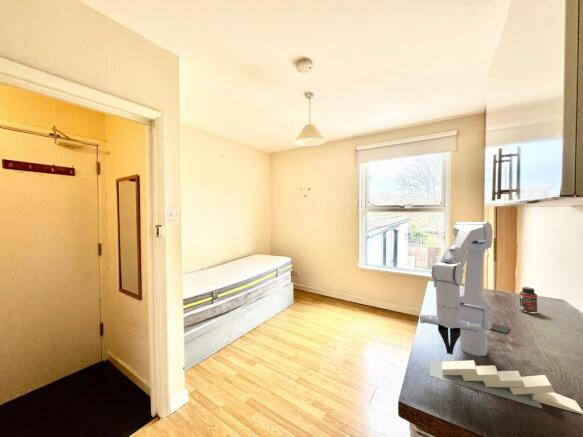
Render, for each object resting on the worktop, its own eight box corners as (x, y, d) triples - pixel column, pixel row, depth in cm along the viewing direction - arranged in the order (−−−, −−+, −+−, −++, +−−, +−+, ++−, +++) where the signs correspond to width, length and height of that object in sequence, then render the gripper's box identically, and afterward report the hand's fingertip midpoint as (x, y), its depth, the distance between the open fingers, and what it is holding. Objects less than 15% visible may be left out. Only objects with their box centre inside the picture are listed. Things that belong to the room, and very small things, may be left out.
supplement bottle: (521, 312, 111) (520, 288, 111) (518, 308, 116) (517, 285, 116) (539, 315, 107) (538, 290, 108) (535, 311, 112) (534, 287, 113)
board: (431, 363, 74) (431, 359, 74) (531, 390, 61) (531, 385, 61) (429, 379, 66) (429, 375, 66) (543, 413, 54) (542, 408, 54)
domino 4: (528, 382, 60) (575, 400, 56) (527, 388, 60) (573, 406, 56) (534, 393, 56) (584, 413, 52) (532, 399, 56) (582, 419, 52)
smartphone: (507, 333, 91) (461, 321, 102) (507, 336, 91) (461, 323, 102) (511, 327, 95) (466, 316, 107) (511, 330, 95) (466, 318, 107)
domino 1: (461, 366, 68) (494, 365, 64) (463, 371, 68) (497, 371, 63) (461, 374, 64) (497, 374, 60) (464, 380, 64) (500, 380, 60)
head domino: (442, 361, 70) (473, 360, 66) (444, 366, 70) (476, 365, 66) (442, 369, 67) (475, 368, 62) (444, 375, 66) (478, 374, 62)
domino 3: (506, 378, 62) (544, 374, 58) (509, 384, 62) (548, 381, 58) (509, 388, 59) (551, 385, 55) (513, 394, 58) (555, 392, 54)
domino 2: (481, 371, 65) (518, 370, 61) (483, 377, 65) (520, 376, 61) (483, 380, 62) (522, 380, 57) (486, 386, 61) (525, 387, 57)
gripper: (418, 304, 68) (419, 351, 68) (482, 314, 60) (484, 367, 60) (420, 297, 74) (422, 341, 74) (479, 305, 66) (480, 354, 66)
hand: (449, 352), depth 67 cm, fingers closed
